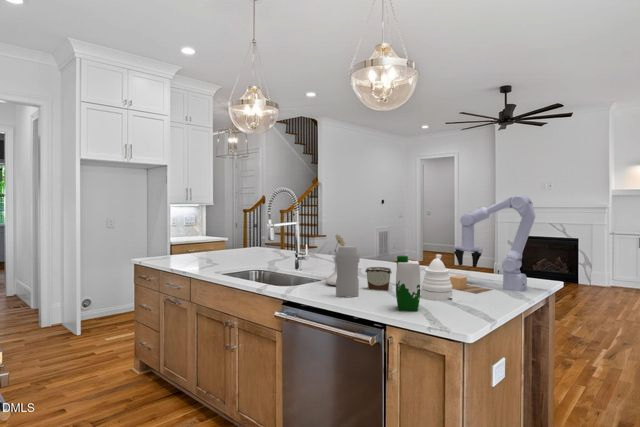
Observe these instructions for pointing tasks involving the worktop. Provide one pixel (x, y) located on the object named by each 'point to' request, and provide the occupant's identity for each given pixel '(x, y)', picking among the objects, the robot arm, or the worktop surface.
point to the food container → (378, 278)
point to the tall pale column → (347, 271)
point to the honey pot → (436, 281)
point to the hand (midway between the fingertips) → (467, 266)
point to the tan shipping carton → (458, 282)
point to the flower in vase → (333, 277)
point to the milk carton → (407, 284)
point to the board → (474, 289)
